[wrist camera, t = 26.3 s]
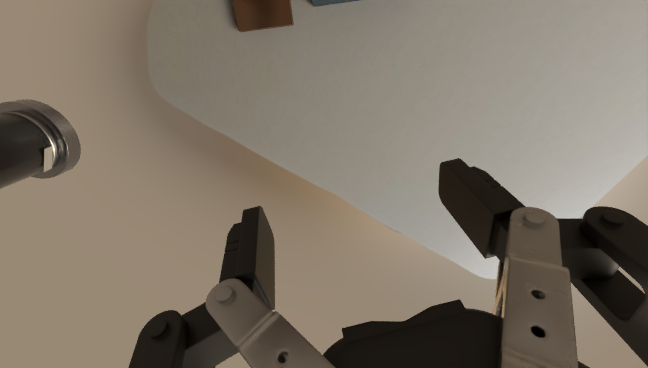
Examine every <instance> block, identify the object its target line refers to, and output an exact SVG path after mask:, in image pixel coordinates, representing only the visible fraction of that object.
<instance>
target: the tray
mask: <svg viewBox="0 0 648 368" xmlns="http://www.w3.org/2000/svg"><path fill="white" fill-rule="evenodd" d="M351 1H358V0H312V3H313V6H314V7H315V6H322V5H329V4H337V3H344V2H351Z"/></svg>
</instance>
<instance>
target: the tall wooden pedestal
mask: <svg viewBox="0 0 648 368" xmlns="http://www.w3.org/2000/svg"><path fill="white" fill-rule="evenodd" d="M232 1H233V6H234V11H235V16H236V21H237V26H238V30H239V31H240V32H245V31H253V30H260V29H268V28H275V27H283V26H290V25H293V17H292V10H291V3H290V0H232Z"/></svg>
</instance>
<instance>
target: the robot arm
mask: <svg viewBox="0 0 648 368" xmlns="http://www.w3.org/2000/svg"><path fill="white" fill-rule="evenodd" d="M59 155H60V151H59V146H58V143H57V140H56V138H55V136H54V135H53V133H52V132H51V131H50V129H49V128H48V127H47V126H46V125H45V124H44V123H42V122H41V121H40V120H38V119H37V118H35V117H33V116H31V115H29V114H27V113H24V112H19V111H9V112H3V113H0V189H1V188H3V187H6V186H8V185H10V184H13V183H16V182H18V181H20V180H23V179H25V178H28V177H30V176H33V175H35V174H37V173H41V172H45V171H48V170H50V169H52V168H53V167H54V166H55V165H56V164H57V162H58V160H59ZM439 196H440V199H441V202H442V203H443V205H444V206H445V207H446V209H447V210H448V211H449V213H450V214H451V215H452V216H453V218H454V219H455V220H456V222H457V223H458V224H459V225H460V227H461V228H462V229H463V231H464V232H465V233H466V235H467V236H468V237H469V238H470V240H471V241H472V242H473V244H474V245H475V246H476V248H477V249H478V250H479V251H480V253H481V254H482V255H483V257H484V258H485V259H486V258H490V257H494V256H497V258H498V259H499V260H500V262H499V266H498V275H497V284H496V293H495V302H494V309H493V314H491V313H488V312H485V311H481V310H476V309H466V308H465V307H464V306H463V304H462V302H461V300H455V301H451V302H447V303H443V304H439V305H435V306H432V307H429V308H427V309H426V310H424V311H422V312H420V313H419V314H417V315H415V316H413V317H411V318H410V319H408V320H406V321H402V322H388V321H385V322H384V321H370V322H366V323H362V324H358V325H354V326H350V327H346V328H342V332H343V337H344V338H342V339H340V340H338V341H337V342H336V343H334V344H333V345H332V346H331V347H330V348H329V349H328V350H327V351H326V352H325V353H324V354H323V355H321V353H320V352H319V351H317V350H316V349H315V348H314V347H313V346H312V345H311V344H310V343H309V342H308V341H307V340H306V339H305V338H304V337H303V336H302V335H301V334H300V333H299V332H298V331H297V330H296V329H295V328H294V327H293V326H292V325H291V324H290V323H289V322H288V321H287V320H286V319H285V318H283V316H282V315H280V314H279V313H278V312H276V311H275V312H272V311H271V310H274V309H275V269H274V268H275V260H274V259H275V256H274V254H275V252H274V251H275V250H274V237H273V233H272V230H271V228H270V225H269V223H268V220H267V218H266V216H265V213H264V211H263V208H262V207H261V206H258V207H254V208H250V209H245V210H244V211H243V216H242V222H241V223H237V224H234V225H233V227H232V228H231V230H230V231H229V233H228V236H227V243H226V244H227V245H226V248H225V254H224V259H223V264H222V270H221V275H220V281H219V284H217V285H216V286H215V287H214V288H213V289H212V290H211V291H210V293H209V294H208V296H207V299H206V302H205V303H203V304H202V305H200V306H198V307H196V308H195V309H193V310H191V311H189V312H187V313H185V314H184V315H182V316H181V315H180V314H179V313H178V312H177V311H174V310H168V311H164V312H162V313H160V314H158V315H156V316H155V317H153V318H152V319H151V320H150V321H149V322H148V323H147V324H146V325H145V326H144V328H143V329H142V331H141V332H140V335H139V337H138V340H137V344H136V346H135V350H134V353H133V356H132V359H131V362H130V365H129V368H215V366H216V365H218V364H220V363H221V362H223V361H224V360H226V359H228V358H229V357H231V356H233V355H234V354H236V353H238V352H239V353H240V354H241V355H242V356H243V358H244V359H245V360H246V362H247V363H248V364H249V366H250V367H251V368H589V367H588V366H586V365H584V364H583V363H581V362H579V361H578V359H577V348H576V337H575V326H574V315H573V305H572V295H571V283H572V284H573V285H574V286H575V287H576V288H577V289H578V290H579V292H580V293H581V294H582V295H583V296H584V297H585V298H586V299H587V300H588V301H589V303H590V304H591V305H592V306H593V307H594V308H595V309H596V310H597V311H598V312H599V314H600V315H601V316H602V317H603V318H604V319H605V320H606V321H607V322H608V323H609V325H610V326H611V327H612V328H613V329H614V330H615V331H616V332H617V333H618V334H619V335H620V337H621V338H622V339H623V340H624V341H625V342H626V343H627V344H628V345H629V346H630V348H631V349H632V350H633V351H634V352H635V353H636V354H637V355H638V356H639V357H640V358H641V360H642V361H643V362H644V363H645V364H646V365H647V366H648V226H647V225H646V224H644V223H643V222H641V221H640V220H638V219H637V218H636V217H634V216H633V215H631V214H629V213H627V212H625V211H622V210H619V209H616V208H612V207H602V206H601V207H593V208H590V209H588V210H587V211H586V212H585V214H584V216H583V219H556V218H555V217H554V216H553V215H552V214H550V213H549V212H547V211H544V210H542V209H538V208H533V207H525V206H524V205H523V204H522V203H521V202H520V201H518V200H517V199H516V198H515V197H514V196H513V195H512V194H511V193H509V192H508V191H507V190H506V189H505V188H504V187H503V186H501V185H500V184H499V183H498V182H497V181H496V180H494V178H492V177H491V176H490V175H489V174H488V173H487V172H486V171H483V170H481V169H479V168H476V167H469V166H468V165H467V164H466V163H465V162H464V161H462V160H461V159H459V158H458V159H454V160H450V161H445V162H442V163H441V164H440V170H439ZM619 266H620V267H621V268H622V269H623V270H625V271H626V272H627V273H628V274H629V275H630V276H631V277H632V278H634V279H635V280H636V281H637V282H638V283H639V284H640V285H641V286H642V288H643V290H644V292H645V294H644V293H643V292H642V291H641V290H640V289H639V288H638V287H636V286H635V285H634V284H633V283H632V282H631V281H630V280H629V279H628V278H626V277H625V276H624V275H623V274H622V273H621V272H620V271H619V270H618V268H619ZM570 282H571V283H570Z"/></svg>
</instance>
